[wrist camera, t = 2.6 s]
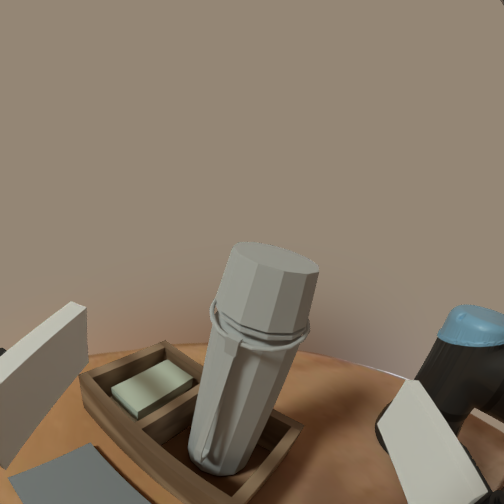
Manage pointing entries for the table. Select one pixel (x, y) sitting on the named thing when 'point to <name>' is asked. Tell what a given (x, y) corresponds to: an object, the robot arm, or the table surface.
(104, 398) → the walnut divided tray
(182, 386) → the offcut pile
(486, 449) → the table surface
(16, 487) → the slate mat
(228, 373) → the water bottle
